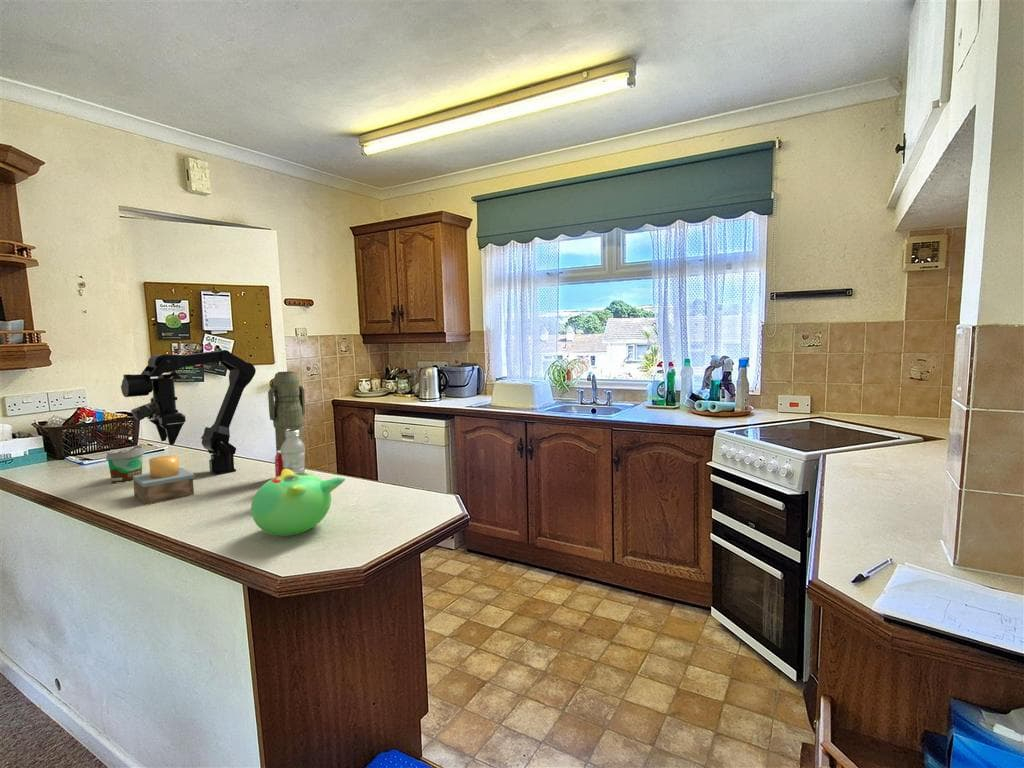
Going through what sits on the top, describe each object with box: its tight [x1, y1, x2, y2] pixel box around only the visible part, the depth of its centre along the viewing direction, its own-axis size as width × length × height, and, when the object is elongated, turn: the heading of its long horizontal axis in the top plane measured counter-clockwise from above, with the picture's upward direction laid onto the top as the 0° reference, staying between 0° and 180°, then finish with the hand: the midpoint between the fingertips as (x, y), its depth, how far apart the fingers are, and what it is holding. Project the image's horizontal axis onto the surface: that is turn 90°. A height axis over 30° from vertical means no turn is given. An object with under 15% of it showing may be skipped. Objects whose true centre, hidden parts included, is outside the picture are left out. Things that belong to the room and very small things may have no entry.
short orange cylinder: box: [148, 455, 180, 478], centre depth 147 cm, size 7×7×5 cm
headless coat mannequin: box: [267, 371, 306, 473], centre depth 164 cm, size 9×12×35 cm
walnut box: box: [132, 478, 195, 506], centre depth 147 cm, size 12×12×5 cm
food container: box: [105, 445, 145, 484], centre depth 165 cm, size 12×6×10 cm, turn 179°
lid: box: [133, 467, 196, 487], centre depth 147 cm, size 12×12×1 cm
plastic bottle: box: [281, 429, 306, 473], centre depth 142 cm, size 6×7×20 cm
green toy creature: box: [250, 469, 346, 537], centre depth 119 cm, size 18×17×15 cm
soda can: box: [274, 450, 284, 477], centre depth 152 cm, size 7×7×12 cm
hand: (167, 442), depth 160 cm, fingers open, 9 cm apart
